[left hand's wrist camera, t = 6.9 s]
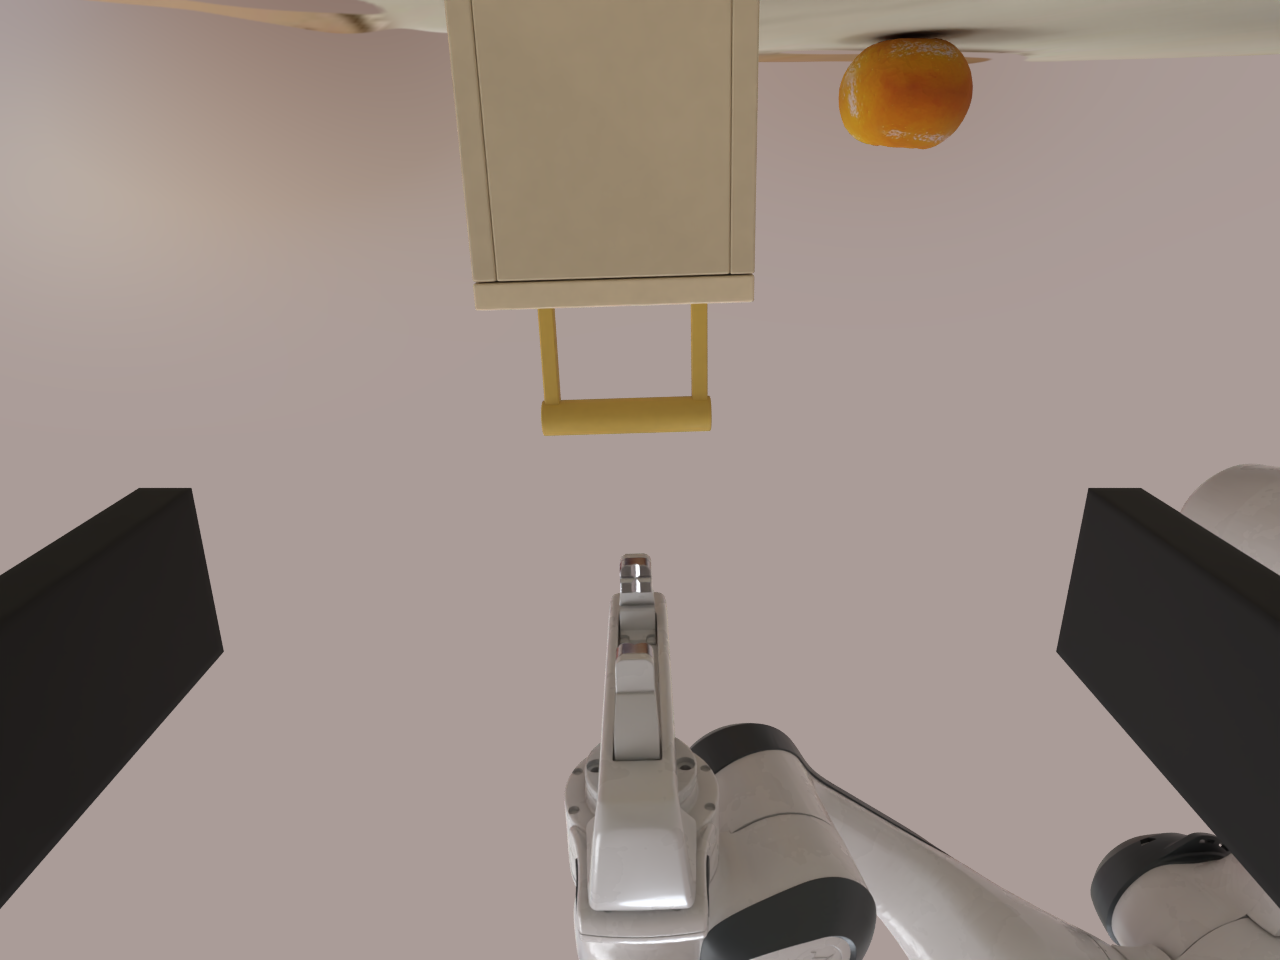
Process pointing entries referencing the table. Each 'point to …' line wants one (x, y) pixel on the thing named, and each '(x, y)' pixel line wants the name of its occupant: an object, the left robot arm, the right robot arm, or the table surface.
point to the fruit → (906, 93)
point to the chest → (606, 136)
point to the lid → (619, 292)
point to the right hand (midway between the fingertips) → (634, 600)
